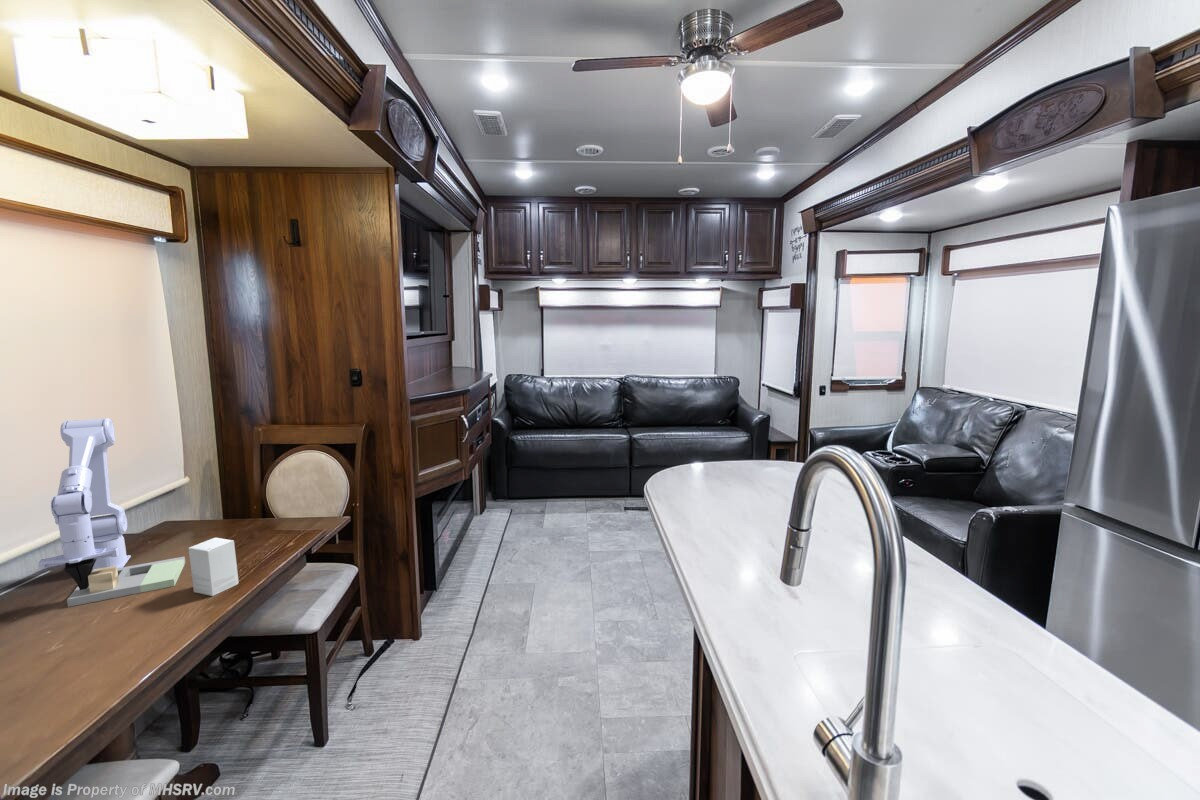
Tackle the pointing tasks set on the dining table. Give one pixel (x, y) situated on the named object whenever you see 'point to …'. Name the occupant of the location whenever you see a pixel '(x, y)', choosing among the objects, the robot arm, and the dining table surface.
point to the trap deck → (134, 581)
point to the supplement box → (213, 566)
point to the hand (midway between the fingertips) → (84, 587)
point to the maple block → (103, 579)
